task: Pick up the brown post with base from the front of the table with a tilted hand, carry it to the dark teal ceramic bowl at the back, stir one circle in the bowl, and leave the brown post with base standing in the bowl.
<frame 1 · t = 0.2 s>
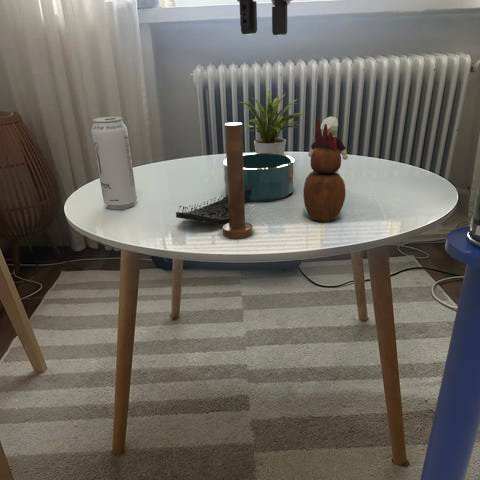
hand: (265, 34, 71), 26 cm above the table, tool pointing down, fingers open, 8 cm apart
hairbrush: (228, 211, 86), on the table, touching bowl
energy drink can: (121, 206, 91), on the table
grandmother figurine: (326, 185, 99), on the table
wooden figurine: (322, 219, 81), on the table
house plant: (267, 171, 110), on the table
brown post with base: (237, 233, 76), on the table
bowl: (259, 192, 95), on the table
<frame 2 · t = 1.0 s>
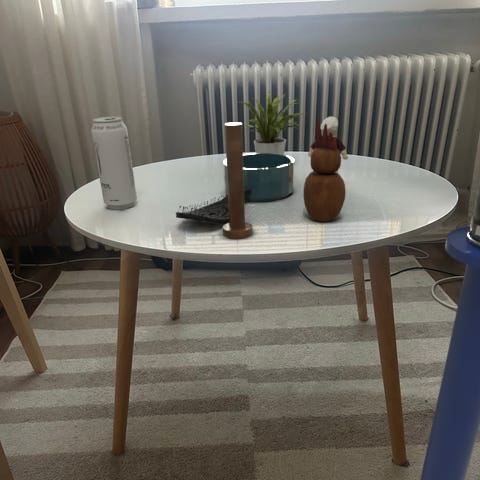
nothing on the table moved.
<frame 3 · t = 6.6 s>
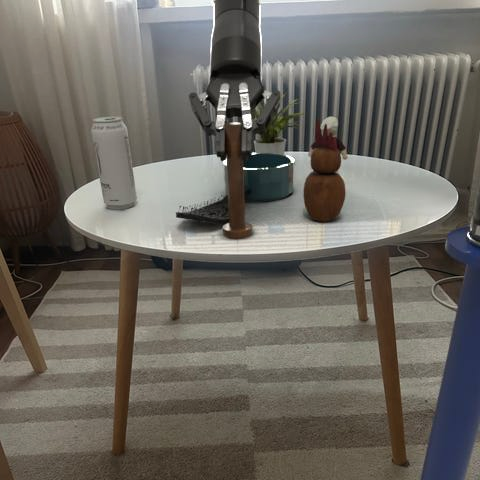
hand: (233, 157, 68), 12 cm above the table, tool tilted 45°, fingers closed on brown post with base, 2 cm apart
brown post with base: (237, 233, 76), on the table, touching gripper
everything else where it was.
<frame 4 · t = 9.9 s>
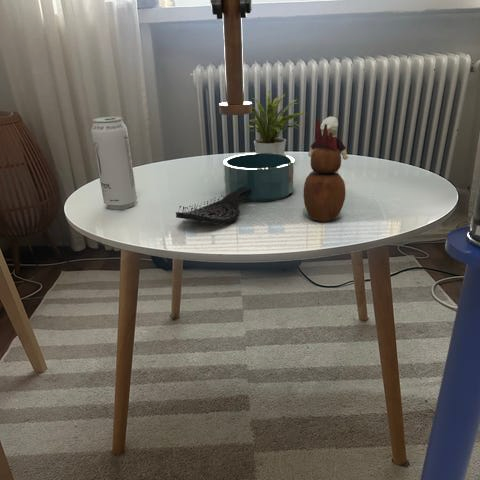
hand: (231, 12, 62), 29 cm above the table, tool tilted 45°, fingers closed on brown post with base, 2 cm apart
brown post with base: (235, 112, 69), point 17 cm above the table, touching gripper
everything else where it was.
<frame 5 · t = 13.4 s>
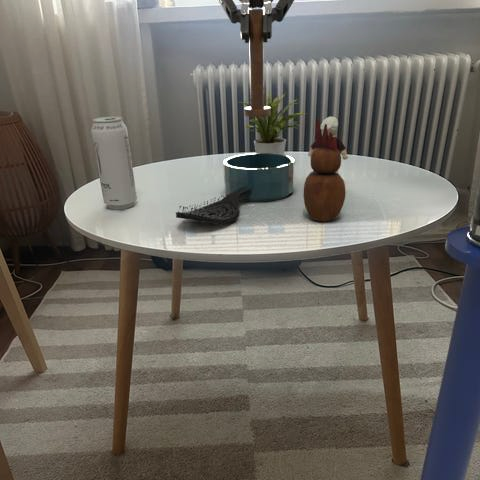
hand: (256, 38, 80), 26 cm above the table, tool tilted 45°, fingers closed on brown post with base, 2 cm apart
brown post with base: (257, 115, 88), point 14 cm above the table, touching gripper
everything else where it was.
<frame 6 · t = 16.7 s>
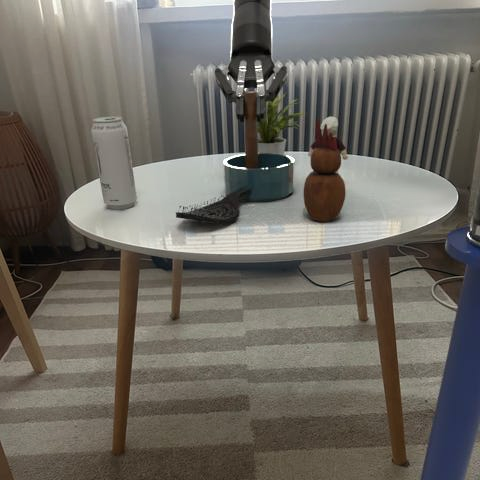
hand: (250, 118, 86), 14 cm above the table, tool tilted 45°, fingers closed on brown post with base, 2 cm apart
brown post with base: (252, 183, 95), point 2 cm above the table, touching gripper
everything else where it was.
when the fingers open (13 cm above the table, at t = 20.0 s): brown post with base stays where it is, resting on bowl.
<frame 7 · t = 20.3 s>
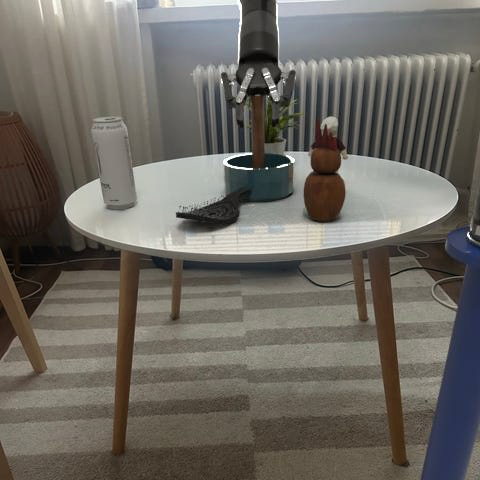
hand: (257, 124, 87), 13 cm above the table, tool tilted 45°, fingers open, 5 cm apart
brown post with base: (258, 185, 96), point 1 cm above the table, tilted 8°, touching bowl
everything else where it was.
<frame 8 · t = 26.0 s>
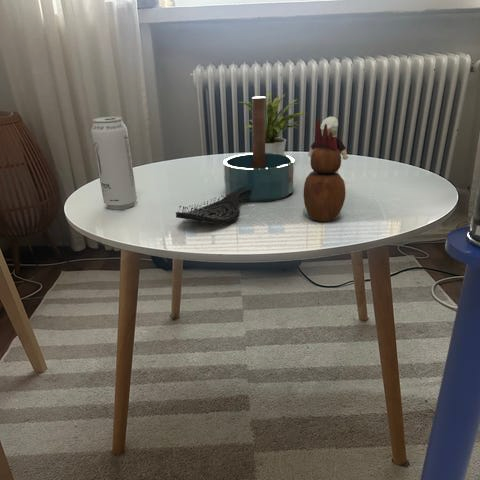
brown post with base: (259, 186, 96), point 1 cm above the table, touching bowl
everything else where it was.
at the end: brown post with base inside the target area in the bowl (1.7 cm from its centre), point 0.7 cm above the bowl's base; the gripper is holding nothing; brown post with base moved 24.3 cm from its start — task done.
